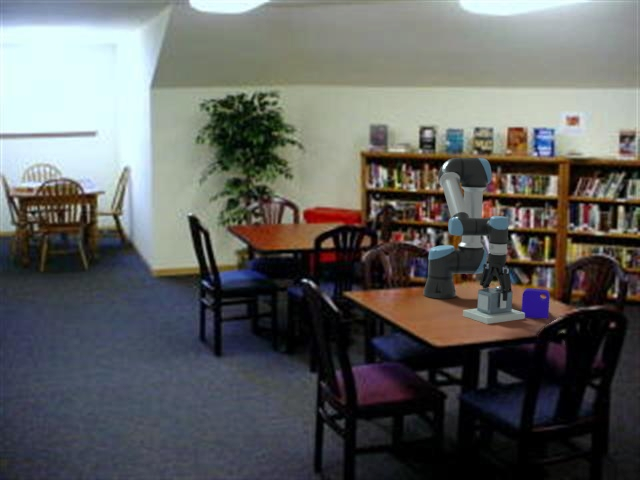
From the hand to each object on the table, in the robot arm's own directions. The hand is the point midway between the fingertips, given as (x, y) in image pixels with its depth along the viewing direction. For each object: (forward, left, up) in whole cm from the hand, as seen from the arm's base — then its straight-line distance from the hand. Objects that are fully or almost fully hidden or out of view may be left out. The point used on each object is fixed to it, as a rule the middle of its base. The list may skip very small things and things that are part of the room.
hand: (494, 305), depth 359 cm
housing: (0, 0, -2) cm, 2 cm away
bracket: (+2, +22, -6) cm, 23 cm away
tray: (0, 0, -5) cm, 5 cm away
